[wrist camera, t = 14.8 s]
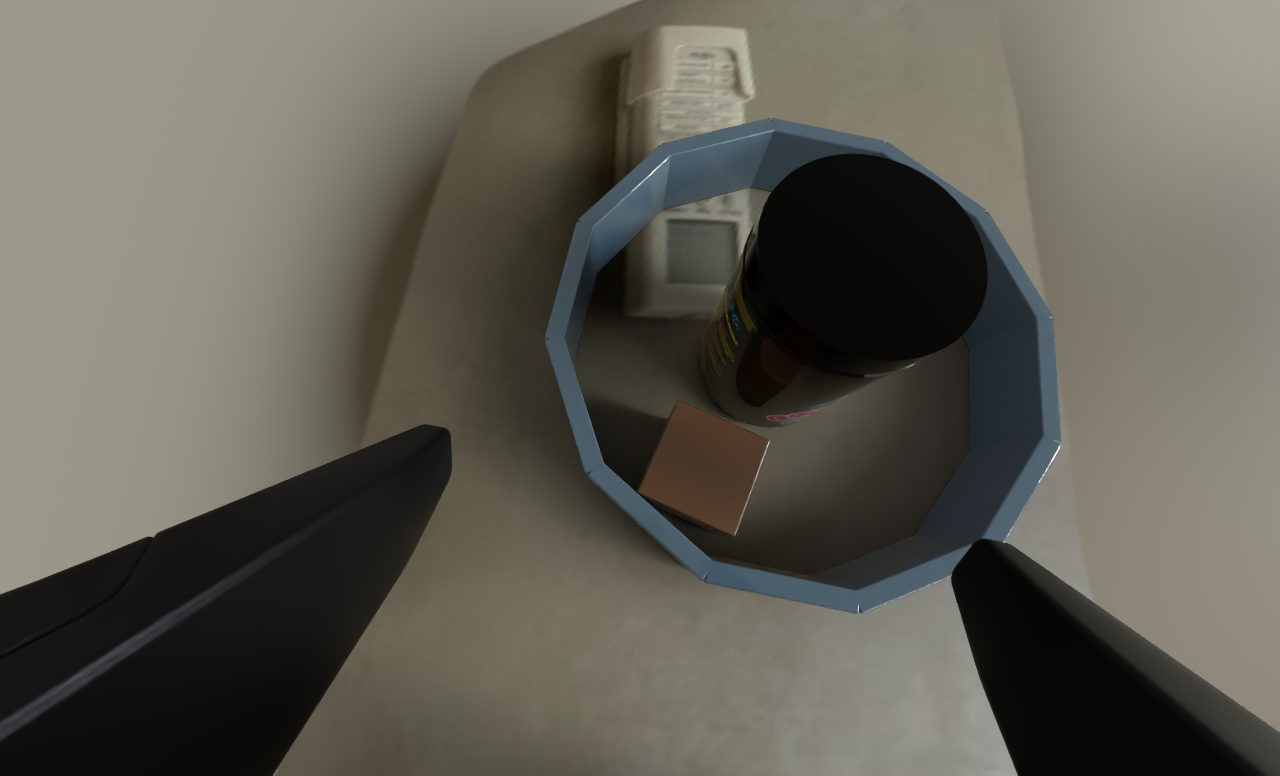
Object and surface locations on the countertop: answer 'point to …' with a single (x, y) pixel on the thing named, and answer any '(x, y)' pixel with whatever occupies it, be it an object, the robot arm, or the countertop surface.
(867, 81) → the countertop surface
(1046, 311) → the blue polygonal ring
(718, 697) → the countertop surface
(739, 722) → the countertop surface
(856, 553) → the countertop surface
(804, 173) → the supplement container
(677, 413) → the walnut block
